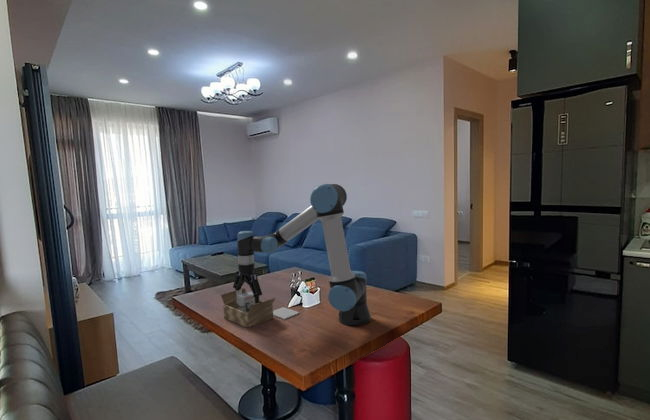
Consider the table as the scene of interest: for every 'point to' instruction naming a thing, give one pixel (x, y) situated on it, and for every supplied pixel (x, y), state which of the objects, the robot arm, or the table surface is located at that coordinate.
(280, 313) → the felt mat
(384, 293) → the table surface
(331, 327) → the table surface
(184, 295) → the table surface
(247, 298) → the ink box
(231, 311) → the carton
